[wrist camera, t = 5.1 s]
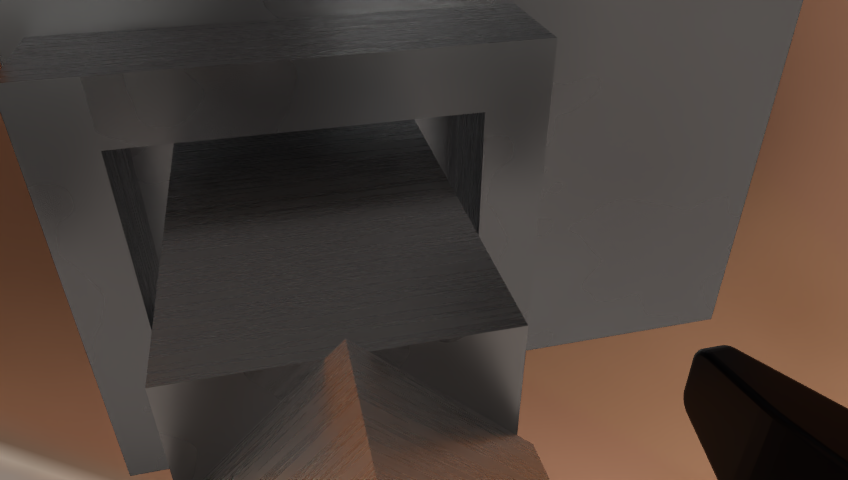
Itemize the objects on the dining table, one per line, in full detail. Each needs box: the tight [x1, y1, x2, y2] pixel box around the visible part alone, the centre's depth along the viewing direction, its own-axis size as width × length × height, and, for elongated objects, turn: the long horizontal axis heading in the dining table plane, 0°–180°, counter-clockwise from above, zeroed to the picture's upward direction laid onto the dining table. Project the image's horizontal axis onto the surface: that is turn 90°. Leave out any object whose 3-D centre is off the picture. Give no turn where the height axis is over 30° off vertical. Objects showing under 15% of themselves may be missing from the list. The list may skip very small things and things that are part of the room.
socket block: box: [0, 0, 803, 476], centre depth 10 cm, size 14×15×6 cm
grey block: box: [145, 119, 549, 480], centre depth 9 cm, size 4×4×8 cm
